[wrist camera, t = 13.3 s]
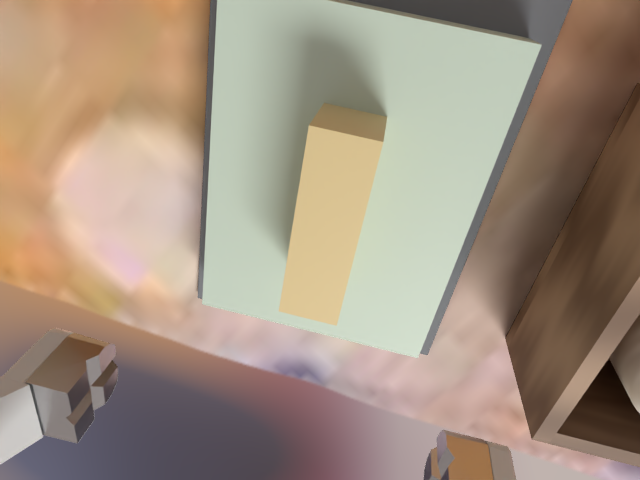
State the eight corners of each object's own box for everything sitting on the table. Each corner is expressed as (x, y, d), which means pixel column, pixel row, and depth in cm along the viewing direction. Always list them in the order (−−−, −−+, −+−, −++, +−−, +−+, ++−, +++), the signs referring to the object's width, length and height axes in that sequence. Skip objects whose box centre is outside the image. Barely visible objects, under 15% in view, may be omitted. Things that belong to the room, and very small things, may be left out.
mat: (216, -72, 20) (213, -73, 19) (570, 0, 19) (572, 0, 18) (199, 294, 30) (197, 297, 30) (427, 351, 29) (427, 355, 29)
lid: (236, -23, 20) (180, -23, 15) (529, 38, 19) (569, 59, 14) (215, 282, 29) (176, 345, 24) (417, 332, 28) (418, 407, 23)
